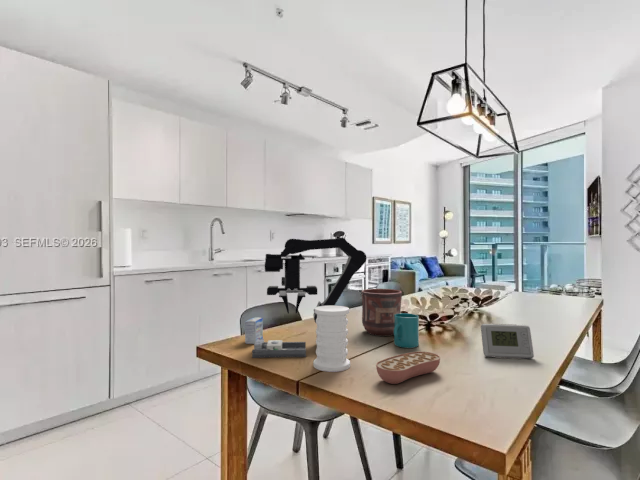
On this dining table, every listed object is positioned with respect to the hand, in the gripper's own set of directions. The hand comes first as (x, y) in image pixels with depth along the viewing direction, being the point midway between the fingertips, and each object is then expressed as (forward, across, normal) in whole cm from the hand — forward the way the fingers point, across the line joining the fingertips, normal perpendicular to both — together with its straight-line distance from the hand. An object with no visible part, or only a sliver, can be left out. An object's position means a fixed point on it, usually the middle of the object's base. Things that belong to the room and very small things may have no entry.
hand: (292, 313), depth 141 cm
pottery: (+12, -38, -18) cm, 44 cm away
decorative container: (+12, -13, +24) cm, 30 cm away
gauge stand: (+12, +4, +10) cm, 16 cm away
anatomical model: (+12, -34, +35) cm, 50 cm away
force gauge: (+11, +7, +11) cm, 16 cm away
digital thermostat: (+12, -73, +18) cm, 76 cm away
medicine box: (+12, +15, -6) cm, 20 cm away
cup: (+12, -42, +3) cm, 44 cm away
